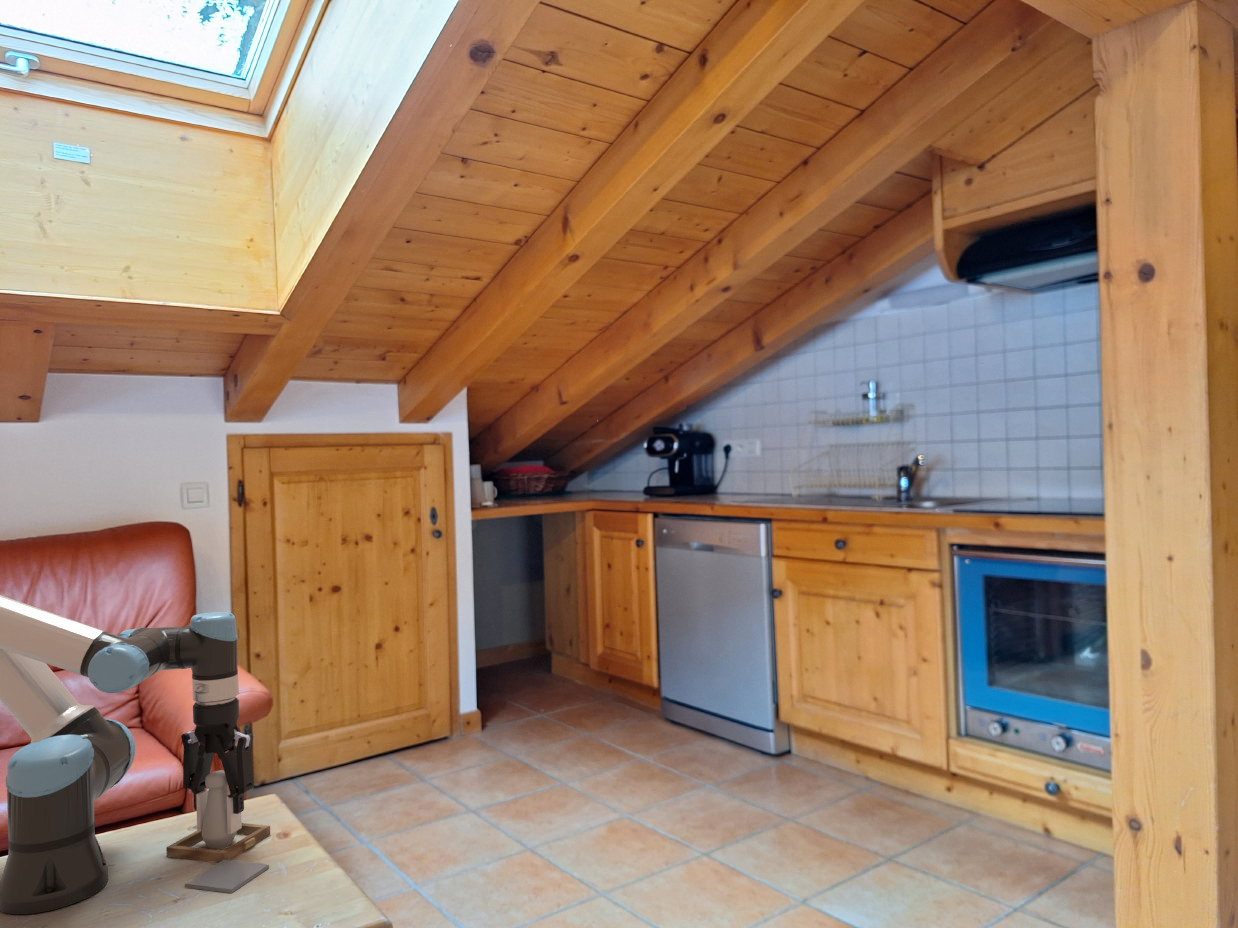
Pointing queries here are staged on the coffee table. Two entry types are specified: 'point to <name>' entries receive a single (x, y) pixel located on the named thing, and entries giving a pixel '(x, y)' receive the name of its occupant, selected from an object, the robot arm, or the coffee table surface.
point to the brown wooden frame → (185, 851)
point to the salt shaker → (216, 812)
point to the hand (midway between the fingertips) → (219, 828)
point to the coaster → (227, 876)
